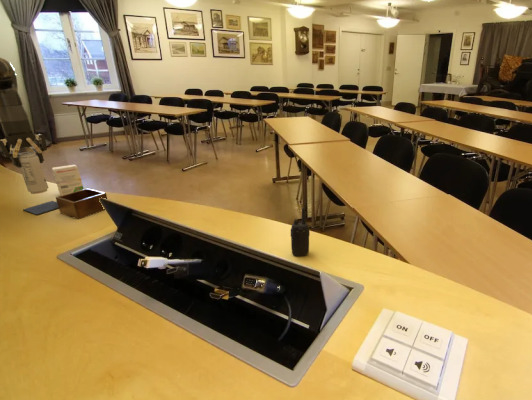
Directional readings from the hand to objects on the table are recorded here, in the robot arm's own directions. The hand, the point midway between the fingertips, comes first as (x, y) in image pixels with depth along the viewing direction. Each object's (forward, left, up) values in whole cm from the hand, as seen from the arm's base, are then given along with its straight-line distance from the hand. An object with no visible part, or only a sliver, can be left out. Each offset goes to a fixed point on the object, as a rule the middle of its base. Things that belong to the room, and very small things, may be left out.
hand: (30, 164), depth 119 cm
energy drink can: (0, 0, -11) cm, 11 cm away
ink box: (+15, +10, -18) cm, 25 cm away
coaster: (0, 0, -18) cm, 18 cm away
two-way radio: (+16, -106, -18) cm, 109 cm away
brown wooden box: (+6, -16, -18) cm, 25 cm away
